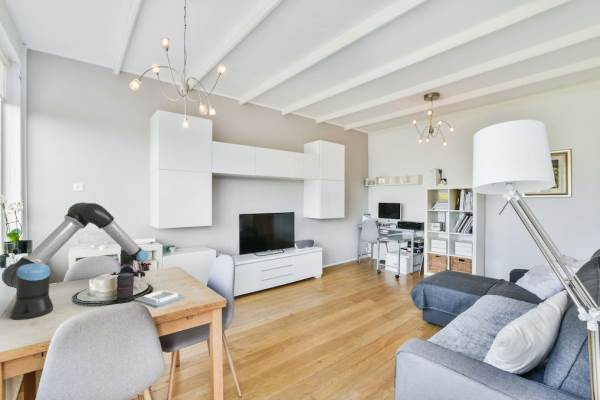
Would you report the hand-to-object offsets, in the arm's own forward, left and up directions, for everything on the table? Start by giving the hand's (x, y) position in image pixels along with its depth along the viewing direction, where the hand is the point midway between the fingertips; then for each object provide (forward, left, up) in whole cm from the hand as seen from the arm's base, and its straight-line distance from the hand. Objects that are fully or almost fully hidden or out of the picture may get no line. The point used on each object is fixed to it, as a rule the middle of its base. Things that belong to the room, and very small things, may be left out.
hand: (126, 279), depth 166 cm
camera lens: (+8, -5, -10) cm, 14 cm away
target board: (+22, +7, -10) cm, 25 cm away
